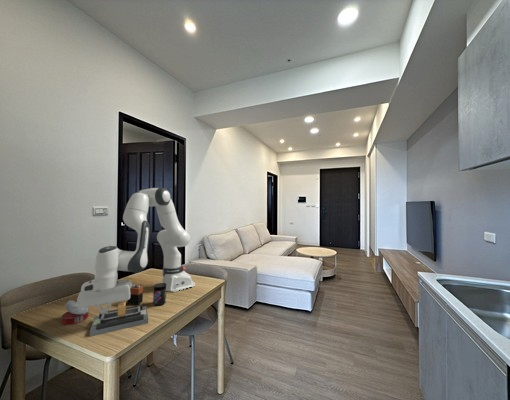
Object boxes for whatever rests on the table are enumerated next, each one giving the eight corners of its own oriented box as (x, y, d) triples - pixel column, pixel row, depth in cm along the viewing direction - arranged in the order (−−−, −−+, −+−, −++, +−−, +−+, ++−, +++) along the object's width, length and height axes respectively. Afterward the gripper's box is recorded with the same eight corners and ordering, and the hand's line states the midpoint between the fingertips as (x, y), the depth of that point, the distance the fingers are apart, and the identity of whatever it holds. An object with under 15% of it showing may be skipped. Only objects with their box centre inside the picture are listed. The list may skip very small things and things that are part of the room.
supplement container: (152, 302, 121) (153, 284, 121) (164, 300, 124) (165, 282, 125) (153, 307, 115) (154, 288, 115) (166, 304, 118) (167, 285, 119)
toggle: (125, 314, 103) (125, 301, 103) (125, 318, 99) (125, 305, 99) (117, 315, 101) (118, 303, 101) (117, 319, 98) (118, 306, 98)
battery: (132, 300, 122) (132, 283, 122) (142, 301, 121) (143, 284, 121) (126, 304, 118) (127, 286, 118) (137, 305, 117) (138, 287, 117)
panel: (146, 310, 112) (146, 301, 112) (148, 322, 100) (148, 313, 100) (94, 320, 100) (94, 311, 101) (89, 336, 88) (90, 325, 89)
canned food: (75, 324, 105) (85, 302, 110) (88, 326, 102) (98, 303, 107) (50, 323, 96) (62, 299, 101) (63, 325, 93) (75, 300, 98)
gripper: (132, 277, 105) (130, 305, 105) (79, 283, 95) (77, 315, 94) (132, 281, 100) (130, 311, 99) (76, 288, 89) (74, 321, 89)
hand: (104, 313), depth 97 cm, fingers closed
